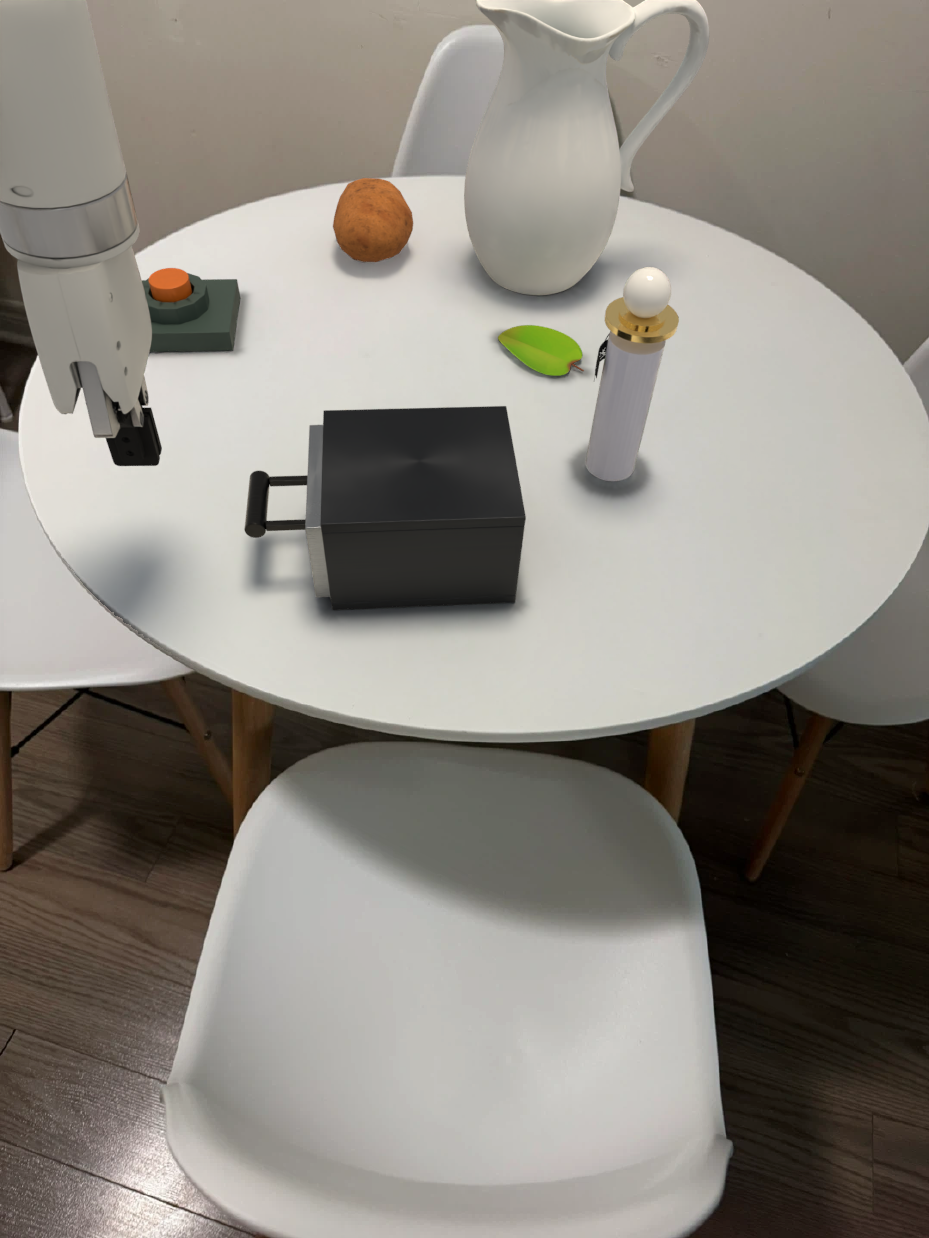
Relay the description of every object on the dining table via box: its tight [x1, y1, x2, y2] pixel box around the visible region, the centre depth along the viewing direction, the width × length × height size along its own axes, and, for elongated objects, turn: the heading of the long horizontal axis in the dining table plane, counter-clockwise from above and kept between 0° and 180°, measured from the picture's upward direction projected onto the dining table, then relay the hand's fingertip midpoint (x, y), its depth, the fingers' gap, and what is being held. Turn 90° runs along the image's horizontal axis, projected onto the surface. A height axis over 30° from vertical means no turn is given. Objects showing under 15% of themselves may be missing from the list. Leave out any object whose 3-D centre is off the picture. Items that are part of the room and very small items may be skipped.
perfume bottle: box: [584, 266, 680, 482], centre depth 74 cm, size 6×6×20 cm
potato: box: [332, 177, 414, 263], centre depth 101 cm, size 9×11×8 cm
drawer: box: [243, 424, 330, 598], centre depth 71 cm, size 19×12×8 cm, turn 95°
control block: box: [141, 272, 241, 353], centre depth 92 cm, size 12×10×4 cm
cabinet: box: [321, 405, 527, 611], centre depth 71 cm, size 15×13×10 cm
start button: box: [148, 267, 192, 302], centre depth 90 cm, size 4×4×2 cm
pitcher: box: [463, 0, 710, 296], centre depth 92 cm, size 24×17×28 cm
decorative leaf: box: [497, 324, 585, 377], centre depth 92 cm, size 8×9×1 cm
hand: (138, 458), depth 64 cm, fingers closed
